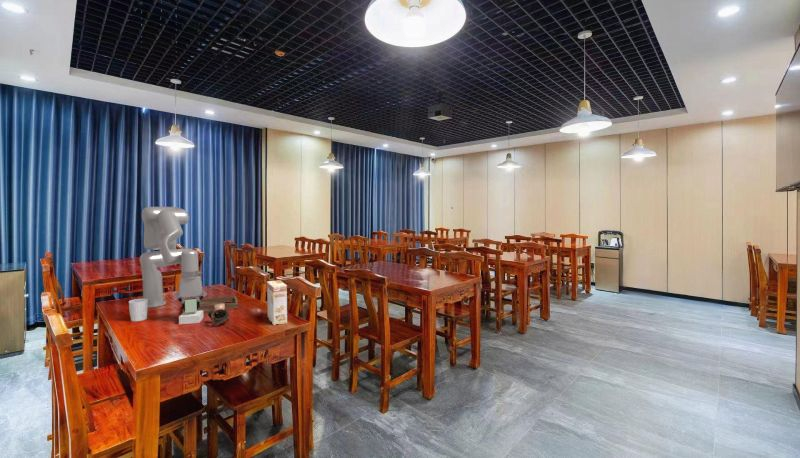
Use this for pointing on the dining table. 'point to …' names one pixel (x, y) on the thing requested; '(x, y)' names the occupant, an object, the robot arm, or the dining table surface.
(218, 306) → the glossy beige egg
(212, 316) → the pottery mug
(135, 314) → the white cup
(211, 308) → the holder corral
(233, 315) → the dining table surface
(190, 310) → the green block
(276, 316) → the coffeecake box
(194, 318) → the base slab
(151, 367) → the dining table surface
